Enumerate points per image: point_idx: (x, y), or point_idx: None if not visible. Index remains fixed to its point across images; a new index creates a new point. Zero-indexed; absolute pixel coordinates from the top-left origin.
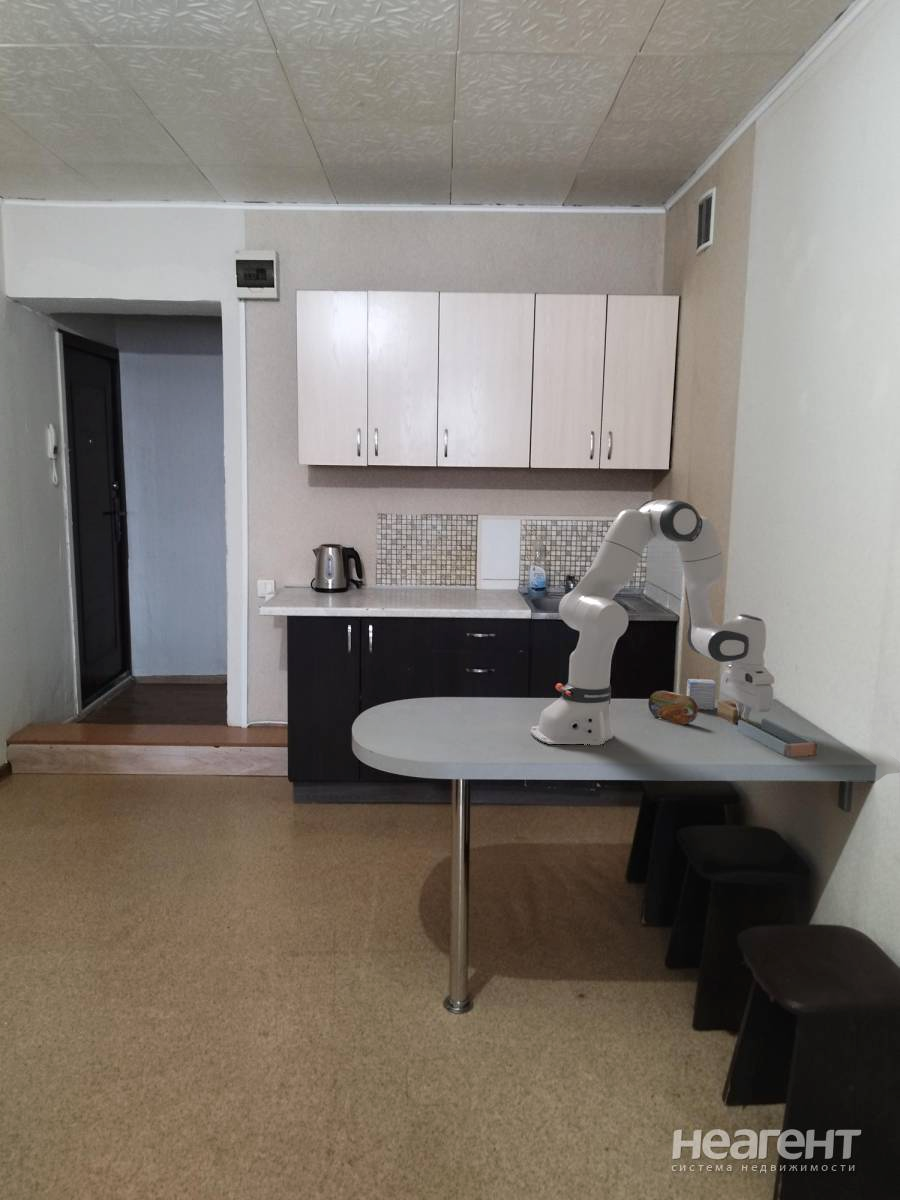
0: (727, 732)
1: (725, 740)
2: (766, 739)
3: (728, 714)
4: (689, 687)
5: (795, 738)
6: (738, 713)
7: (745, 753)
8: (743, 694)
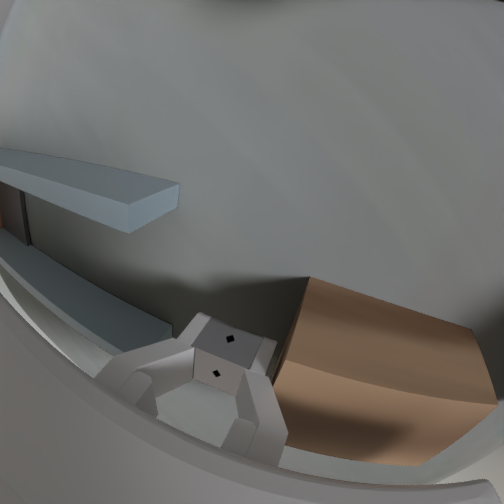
0: (173, 86)
1: (97, 13)
2: (8, 158)
3: (367, 331)
4: None
5: (10, 253)
6: (260, 352)
7: (22, 41)
8: (29, 459)
